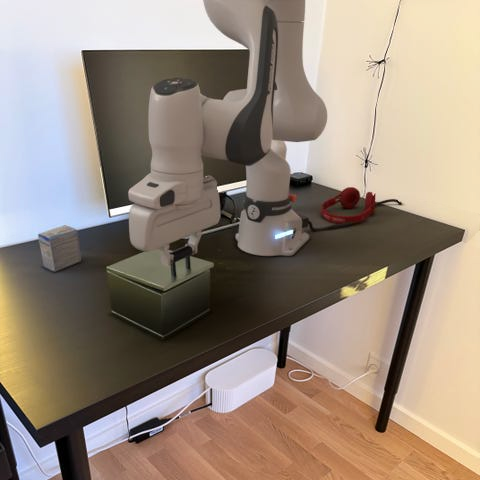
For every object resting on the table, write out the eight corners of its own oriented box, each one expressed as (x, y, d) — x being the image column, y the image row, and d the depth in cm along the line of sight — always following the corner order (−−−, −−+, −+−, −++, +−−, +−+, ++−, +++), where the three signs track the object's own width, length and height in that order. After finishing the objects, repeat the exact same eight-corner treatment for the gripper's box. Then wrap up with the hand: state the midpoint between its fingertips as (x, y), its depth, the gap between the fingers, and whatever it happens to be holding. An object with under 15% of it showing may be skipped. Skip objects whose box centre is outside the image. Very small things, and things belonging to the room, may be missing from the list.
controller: (219, 219, 149) (220, 187, 144) (190, 210, 156) (189, 179, 150) (228, 216, 152) (229, 184, 147) (198, 207, 159) (198, 176, 153)
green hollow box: (210, 312, 102) (210, 270, 96) (163, 340, 92) (161, 295, 87) (159, 290, 109) (157, 250, 104) (111, 314, 99) (106, 271, 94)
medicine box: (70, 257, 122) (65, 224, 117) (82, 261, 120) (77, 228, 115) (43, 267, 116) (37, 233, 112) (55, 272, 114) (49, 238, 110)
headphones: (345, 201, 169) (312, 222, 157) (346, 181, 164) (313, 202, 153) (383, 212, 160) (352, 235, 149) (386, 191, 156) (354, 214, 145)
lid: (213, 266, 95) (212, 241, 93) (164, 291, 86) (161, 263, 83) (157, 249, 104) (155, 225, 101) (106, 270, 94) (102, 245, 91)
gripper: (203, 170, 92) (203, 238, 99) (119, 193, 78) (127, 271, 85) (229, 176, 89) (227, 246, 96) (147, 201, 74) (152, 282, 82)
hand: (179, 258), depth 90 cm, fingers closed on lid, 5 cm apart
